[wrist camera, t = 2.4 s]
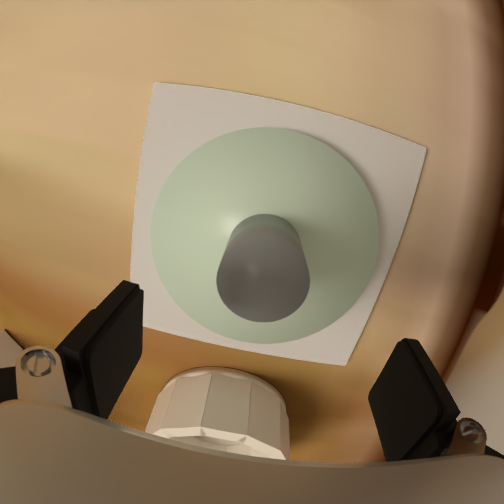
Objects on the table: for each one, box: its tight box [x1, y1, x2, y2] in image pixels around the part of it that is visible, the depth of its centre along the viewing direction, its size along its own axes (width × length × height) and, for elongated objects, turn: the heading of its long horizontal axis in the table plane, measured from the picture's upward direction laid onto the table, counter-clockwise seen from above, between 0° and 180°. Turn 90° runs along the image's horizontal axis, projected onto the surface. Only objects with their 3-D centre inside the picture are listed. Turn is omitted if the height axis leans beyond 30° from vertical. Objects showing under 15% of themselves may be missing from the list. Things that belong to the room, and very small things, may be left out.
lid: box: [150, 127, 379, 344], centre depth 15 cm, size 13×13×5 cm
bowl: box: [145, 367, 290, 460], centre depth 21 cm, size 11×11×6 cm
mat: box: [130, 82, 427, 366], centre depth 18 cm, size 16×16×1 cm
